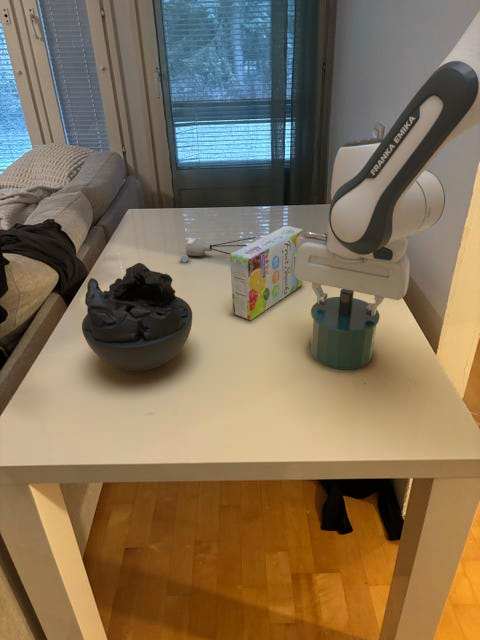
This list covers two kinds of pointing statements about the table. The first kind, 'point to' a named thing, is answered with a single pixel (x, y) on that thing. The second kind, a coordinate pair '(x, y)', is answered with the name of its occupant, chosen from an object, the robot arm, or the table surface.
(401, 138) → the robot arm
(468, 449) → the table surface
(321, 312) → the lid
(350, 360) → the pot
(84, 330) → the bowl of black rocks
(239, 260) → the snack box
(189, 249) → the reed diffuser
